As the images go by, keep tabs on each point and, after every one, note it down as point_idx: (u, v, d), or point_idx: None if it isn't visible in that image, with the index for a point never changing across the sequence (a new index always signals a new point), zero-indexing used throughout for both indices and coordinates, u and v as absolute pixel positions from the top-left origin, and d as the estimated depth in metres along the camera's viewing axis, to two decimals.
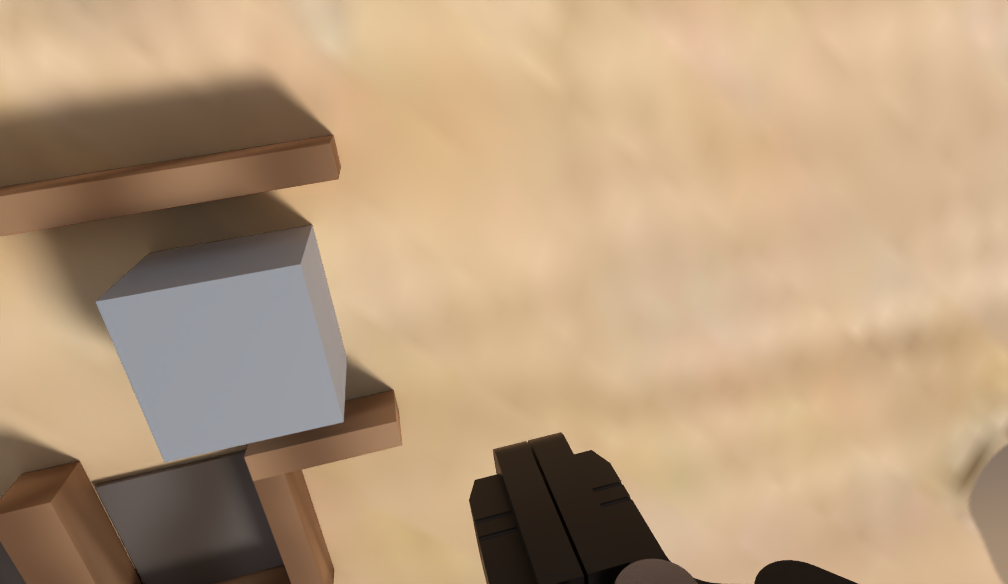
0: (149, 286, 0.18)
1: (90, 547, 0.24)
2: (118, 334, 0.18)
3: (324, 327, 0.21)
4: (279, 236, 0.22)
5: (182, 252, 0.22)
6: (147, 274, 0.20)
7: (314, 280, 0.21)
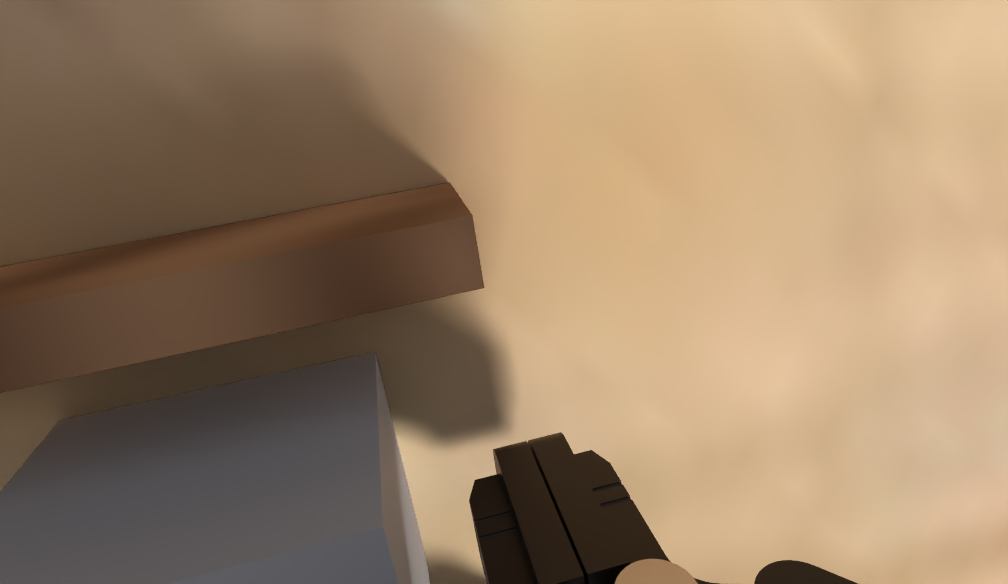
0: None
1: None
2: None
3: None
4: (315, 389, 0.11)
5: (120, 429, 0.11)
6: (27, 521, 0.09)
7: (395, 503, 0.10)
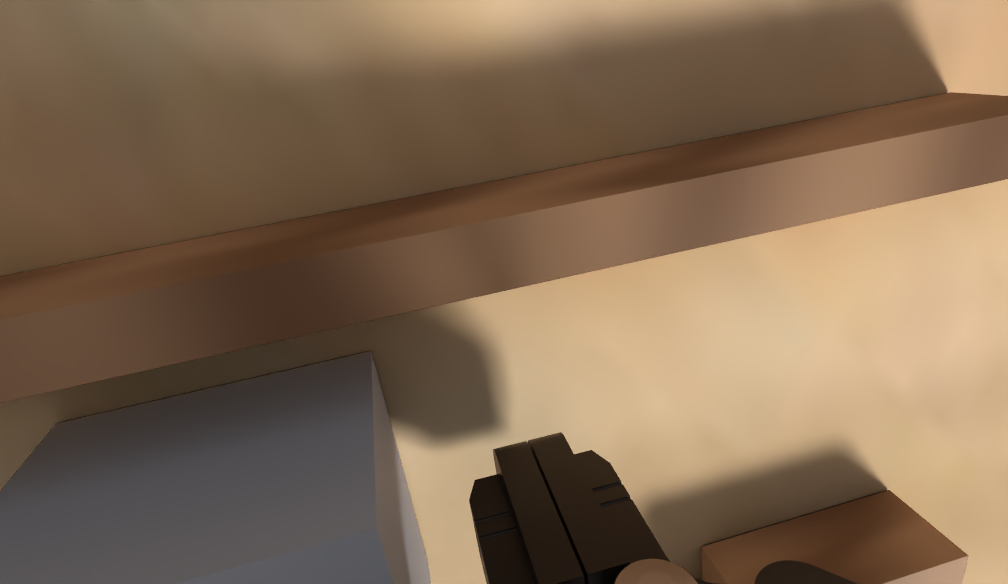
0: None
1: None
2: None
3: None
4: (310, 390, 0.11)
5: (115, 432, 0.11)
6: (21, 526, 0.09)
7: (391, 504, 0.10)
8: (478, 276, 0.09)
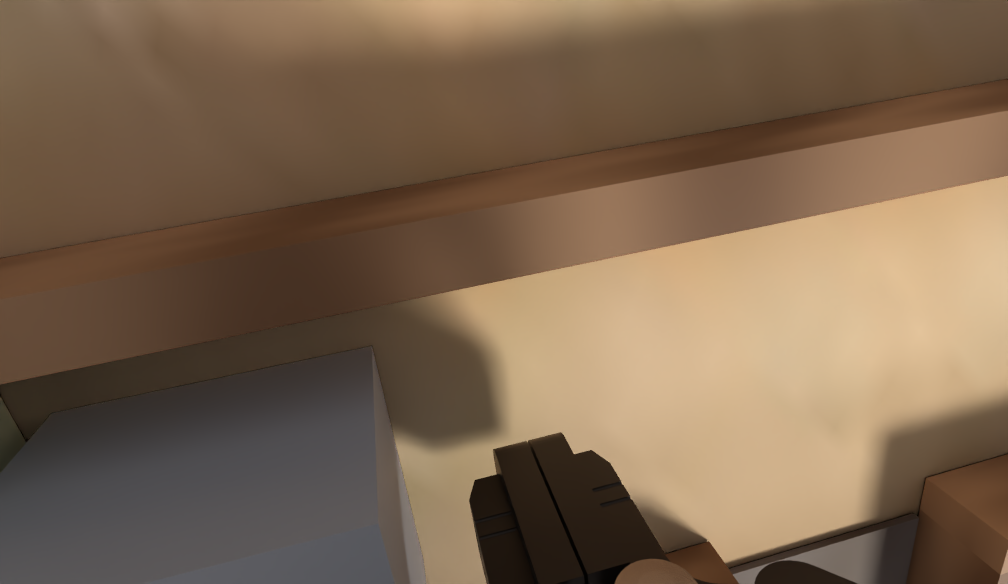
0: None
1: None
2: None
3: None
4: (310, 384, 0.11)
5: (112, 423, 0.10)
6: (16, 515, 0.09)
7: (391, 499, 0.10)
8: (889, 182, 0.10)
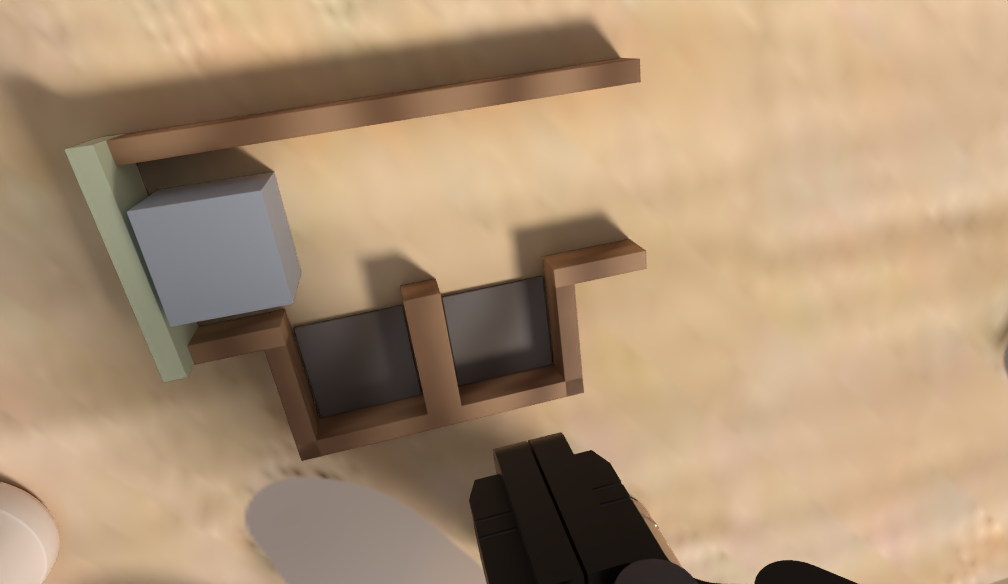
0: (161, 203, 0.28)
1: None
2: (141, 234, 0.28)
3: (280, 238, 0.31)
4: (250, 178, 0.32)
5: (182, 188, 0.31)
6: (159, 198, 0.29)
7: (272, 206, 0.30)
8: (441, 107, 0.31)
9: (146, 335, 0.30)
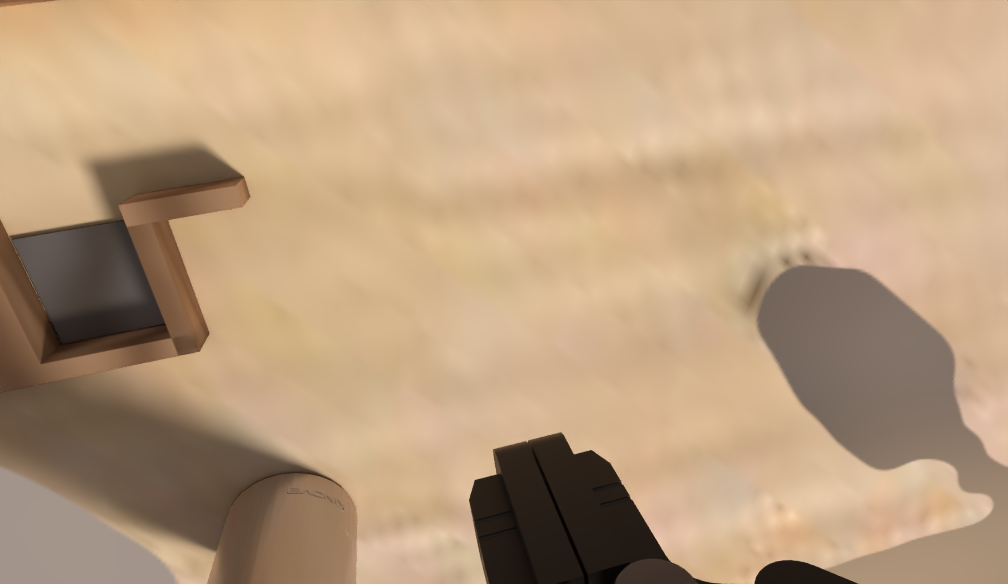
0: None
1: (6, 278, 0.32)
2: None
3: None
4: None
5: None
6: None
7: None
8: None
9: None
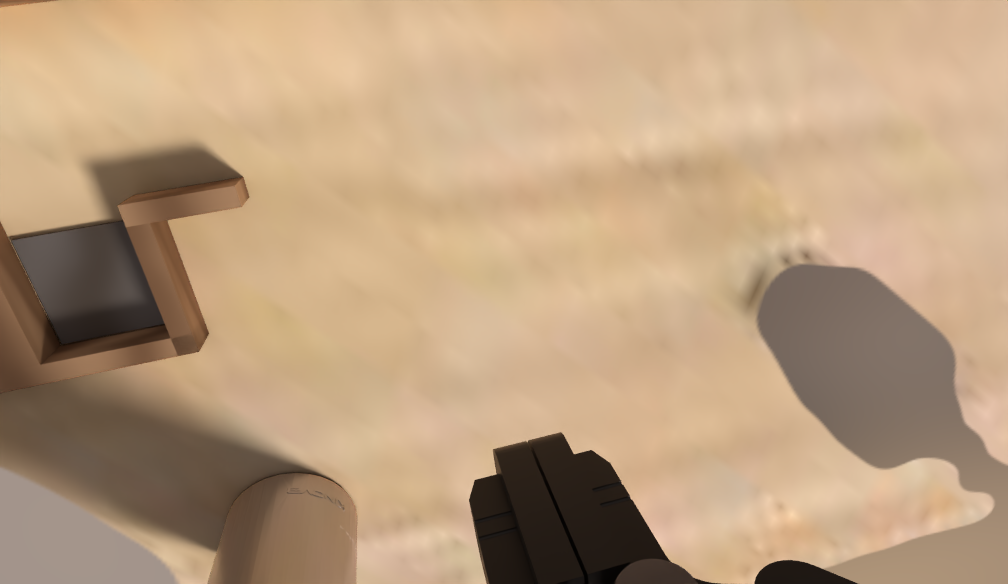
0: None
1: (5, 279, 0.32)
2: None
3: None
4: None
5: None
6: None
7: None
8: None
9: None
